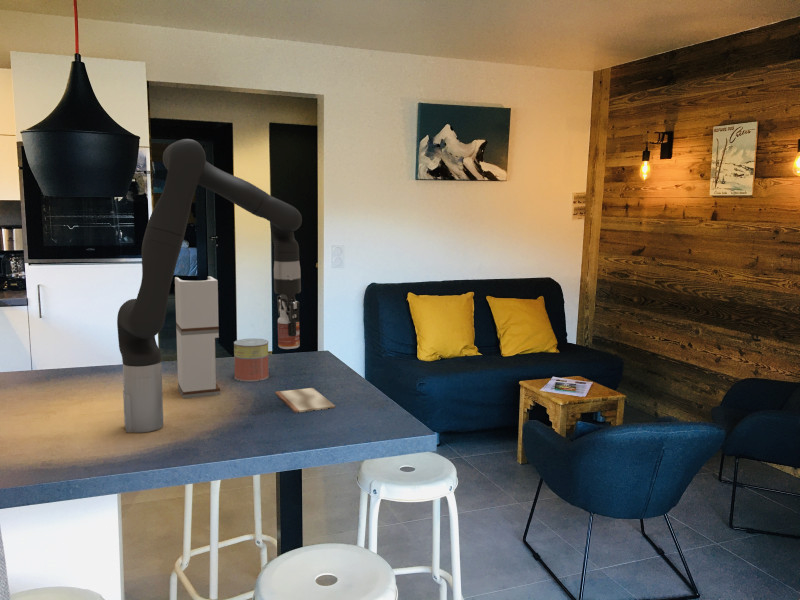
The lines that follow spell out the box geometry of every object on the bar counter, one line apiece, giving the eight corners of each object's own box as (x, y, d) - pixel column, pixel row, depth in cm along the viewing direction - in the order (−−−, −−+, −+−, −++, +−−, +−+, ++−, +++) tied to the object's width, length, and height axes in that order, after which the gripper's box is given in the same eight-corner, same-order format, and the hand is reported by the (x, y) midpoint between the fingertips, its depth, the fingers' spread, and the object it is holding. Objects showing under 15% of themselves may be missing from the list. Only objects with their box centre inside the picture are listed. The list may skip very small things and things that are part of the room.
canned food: (241, 371, 224) (241, 337, 223) (273, 373, 223) (273, 339, 221) (228, 380, 213) (228, 344, 212) (261, 382, 212) (261, 346, 210)
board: (294, 413, 182) (294, 410, 182) (275, 393, 199) (275, 391, 199) (335, 407, 187) (335, 405, 187) (312, 389, 205) (312, 387, 205)
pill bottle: (299, 349, 187) (298, 311, 185) (277, 349, 186) (276, 311, 184) (299, 344, 193) (299, 307, 191) (278, 344, 192) (277, 307, 190)
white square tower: (219, 394, 197) (217, 280, 192) (183, 398, 193) (180, 281, 187) (213, 385, 207) (210, 276, 202) (178, 388, 203) (174, 277, 198)
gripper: (267, 274, 190) (269, 330, 193) (281, 280, 178) (283, 340, 181) (292, 273, 194) (293, 328, 197) (308, 278, 181) (309, 337, 184)
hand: (288, 333), depth 189 cm, fingers closed on pill bottle, 6 cm apart
